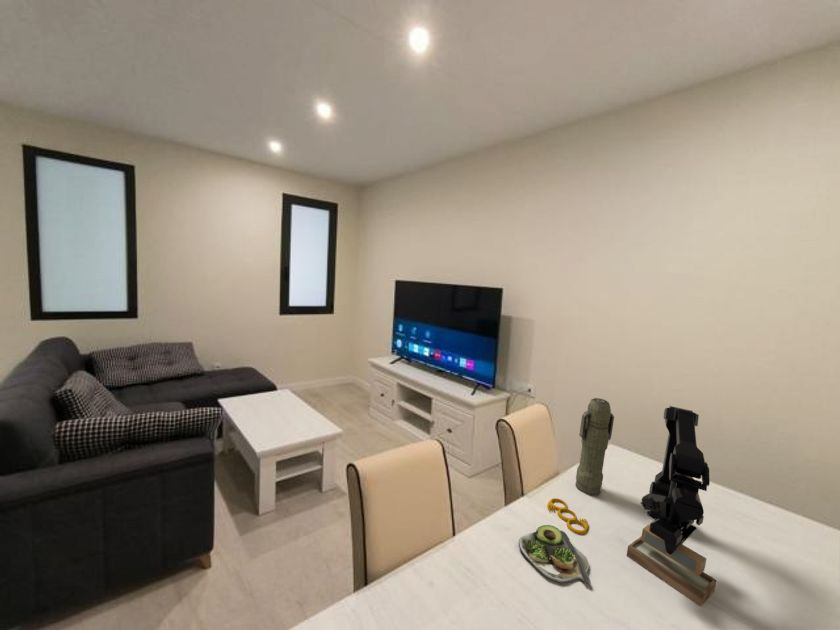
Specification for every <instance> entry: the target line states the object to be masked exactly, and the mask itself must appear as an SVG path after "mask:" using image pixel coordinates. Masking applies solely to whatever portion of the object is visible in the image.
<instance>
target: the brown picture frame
mask: <svg viewBox="0 0 840 630" xmlns="http://www.w3.org/2000/svg"><path fill="white" fill-rule="evenodd" d="M626 557H627V558H629V559H630V560H631V561H634V562H635V563H636V564H638V565H639V566H641V567H642V568H644V570H647V571H648V572H650V573H651V574H652V575H653V576H655V577H657V578H659V579H660V580H661V581H663V582H665V583H666V584H668V585H669V586H670V587H671V588H673V589H675V590H676V591H678V592H679V593H680V594H682V595H683V596H685V597H686V598H687V599H689V600H690V601H692V602H694V603H695V604H697V605H698V606H699V607H702V606H703V605H704V604H705V603H706V602H707V600H708V599H710V597H711V596H712V594H713V593H714V592H715V589H716V584H717V581H718V580H717V579H716V578H714V577H713V576H711V575H709V574H708V573H706V572H705V571H703V572H702V574H701V575H700V576H698V575H696V574H695V573H693V572H692V571H690V570H688V569H687V568H685V567H684V566H682V565H680V564H679V563H677V562H676V561H674V560H672V559H671V558H669V557H668V556H666V555H664V554H663V553H661V552H660V551H658V550H656V549H655V548H653V547H652V546H650V545H649V544H647V543H645V542H644V541H642V540H641V536H640V537H638V538H637V539H636V540H634V541H632V543H629V544H628V545H627V550H626Z"/></svg>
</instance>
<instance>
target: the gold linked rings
mask: <svg viewBox="0 0 840 630" xmlns="http://www.w3.org/2000/svg"><path fill="white" fill-rule="evenodd" d="M555 502H557V503H560V504H562V505H563V506H564V507H559V506H557V505H555V504H554V503H555ZM546 507H547V510H548V512H549V513H551V512H552V513H553V512H554V513H556V511H557V516H558V518H560V519H561V520H562V521H563V522H566V527H567V529H568V530H569V531H570V532H571V533H573V534H576V535H580V536H583V535H586V534H587V532H588V530H589V522H588V521H587V519H586V518H579V520H577V519H578V517H577V514H576V512H574V511H572V510H571V509H569V508H568V504H567V503H566V502H565V501H564V500H562V499H560V498H555V497H554V498H551V499H550V500H548V502H547V506H546ZM563 512H564V513H568V514H570V515H572V516H573V517H572V518H569V517H567V516H564V515H563V514H562V513H563ZM571 524H577V525H579V526H581V527H582V529H577V528H574V527H573V526H572V525H571Z"/></svg>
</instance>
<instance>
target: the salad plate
mask: <svg viewBox="0 0 840 630" xmlns="http://www.w3.org/2000/svg"><path fill="white" fill-rule="evenodd" d="M518 548H519V550H520V552H521V554H522V555H523V557H524V558H525V559H526V560H527V561H528V562H529V563H531V565H533V566H534V568H536V569H537V570H538V572H540V573H541V574H543V576H545V577H547V578H548V579H550V580H551V581H555V582H558V583H570V582H573V581H574V580H579V579H580V580H582V581H583V582H585V583H586V584H591V579H590V577H589V575H588V573H587V572H588V571H589V568H590V567H589V566H590V565H589V564H590V563H589V560H588V557H587V556H586V555H585V554H584V553H583V552H581V551H580V550H579V549H578V548H577V547H576V546H575V545H574V544H572V542H571V541H570V537H569V536H568V535H567V533H566V532H565V531H563V530H561V529H559V528H558V527H556V526H554V525H552V524H544V525H543V524H542V525H541V526H539V527H538V528H537V529H536V530H535V531H534V532H531V533H528V534H525V535H522V536H521V537H519V539H518ZM537 562H538V563H542V564H543V563H547V564H551V565H552V566H554V567H555V568H556V569H557V570H560V573H558V574H555V573H553V572H549V571H547V570H546V569H544V568H543V567H541V566H540V565H539V564H538V563H537Z"/></svg>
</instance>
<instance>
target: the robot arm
mask: <svg viewBox="0 0 840 630" xmlns="http://www.w3.org/2000/svg"><path fill="white" fill-rule="evenodd" d="M663 410H664V411H663V420H664V423H665V427H666V429H667V431H668V435H667V440H666V447H665V452H664V458H663V463H662V470H661V471H659V473H657V474H655V476H654V480H653V481H651V483H650V485H649V489H648V490H649V491H648V493H647V494H645V495H644V496H642V497H641V502H640V504H641V506H642V507H643V509H644V510H646V514H647V515H648V516H650V517H652V518H653V519H655V520H653V521H652V522H650V523H649V525H650V528H649V531H650V532H651V533H653V534H655V535H656V536H658V537H660V538H661V539H663V540H664V542H665V547H666V552H667V553H668V554H670V555H671V554H672V553H673V552H674V551H675V550H676V549H677V548H678V546H679V545H680V544H683V545H684V543H685V542H686V541H687V540H688V539H689V538H690V536H692V534H693V533H694V532H696V530H697V527H696V526H700V525H702V524H703V522H704V518H705V517H704V507H703V504H702V500H701V498H700V495H699V491H700V490H701V491H704V492H707V491H708V490H707V489H708V487H709V486H710V467H709V466H708V465H709V464H708V462H706V461H705V456H704V452H702V451H701V449H700V448H698V446H697V445H698V444H697V436H696V427H698V425H699V417H700V416H699V414H698V413H696V412H694V411H693V410H690V409H686V408H681V407H676V406H671V405H669V407H666V408H664V409H663ZM700 479H701V481H700ZM694 523H695V524H696V526H694V525H693V524H694Z"/></svg>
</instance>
